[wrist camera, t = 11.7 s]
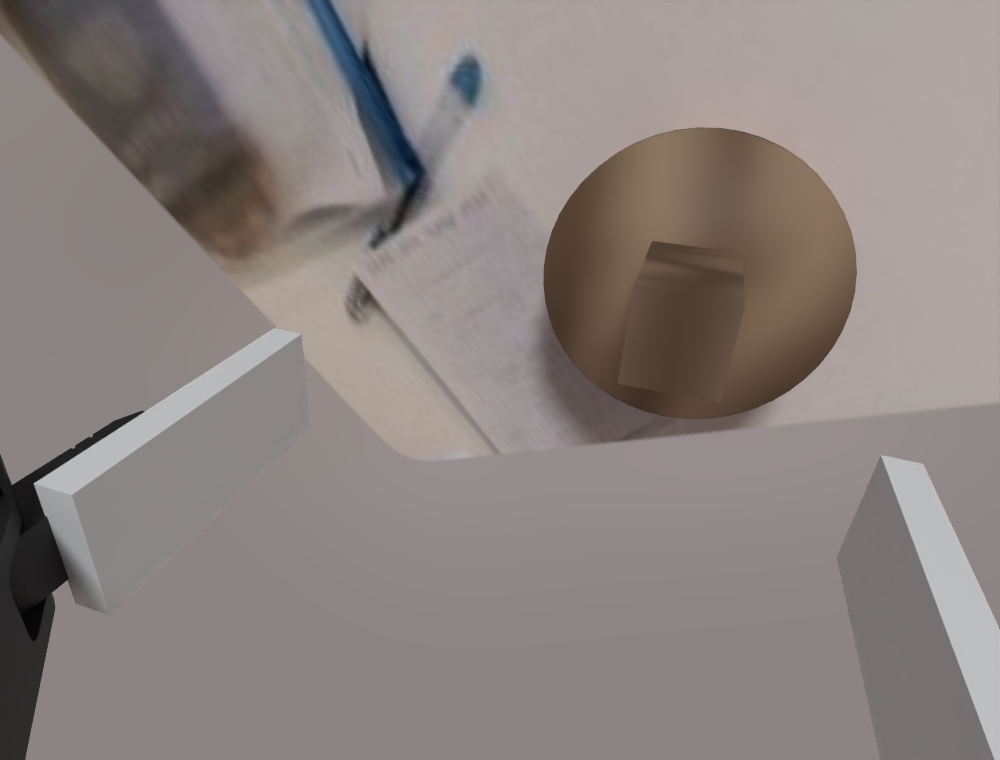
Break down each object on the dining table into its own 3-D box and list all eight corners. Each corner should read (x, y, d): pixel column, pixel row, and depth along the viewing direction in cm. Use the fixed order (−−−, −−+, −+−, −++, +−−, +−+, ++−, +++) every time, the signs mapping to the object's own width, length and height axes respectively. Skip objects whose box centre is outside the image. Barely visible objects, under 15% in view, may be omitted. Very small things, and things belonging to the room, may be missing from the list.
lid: (536, 383, 36) (492, 459, 30) (561, 113, 30) (512, 133, 23) (804, 436, 33) (822, 534, 26) (900, 144, 26) (956, 178, 20)
